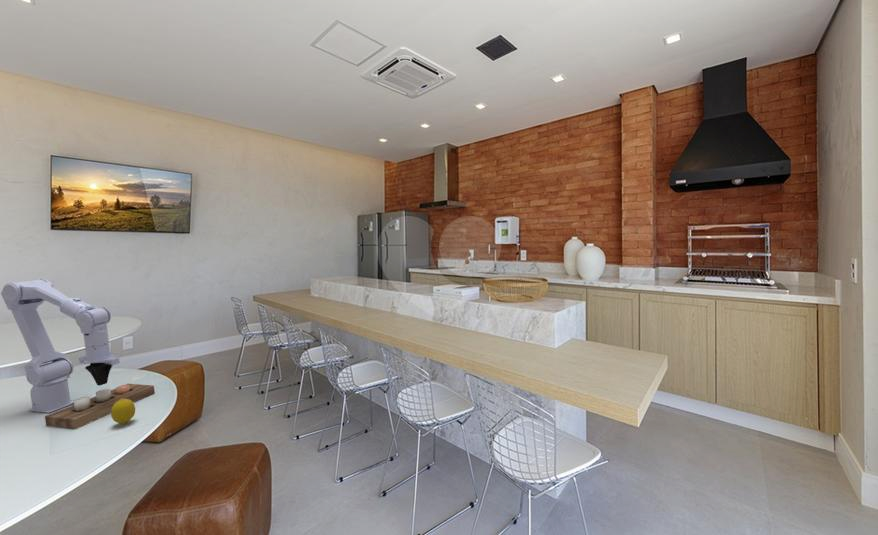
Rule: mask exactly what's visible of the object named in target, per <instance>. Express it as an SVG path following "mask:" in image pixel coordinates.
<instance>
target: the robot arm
mask: <svg viewBox="0 0 878 535" xmlns="http://www.w3.org/2000/svg"><path fill="white" fill-rule="evenodd" d="M0 294H1V297H2V299H3V301H4V303H5V305H6V308H7V309H8V310H10V311H11V314H12V316H13V318H14V320H15V322H16V324H17V327H18V329H19V331H20V333H21V335H22V337H23V339H24V342H25V344H26V346H27V348H28V350H29V353H30V355H31V360H30V361H29V362H28V363H27V364H25V366H24V369H25V374H26V375H25V377H26V381H27V382H28V383H29V384H30V385H32V387H31V389H30V391H29V392H30V400H31V406H32V408H29V409H28V411H29V412H36V413H47V414H51V413H52V412H53V413H54V412H57V411H59V410H62V409H64V408H67V407H69V406H72V405H74V404H73V403H74V400H75V399H71V396H70V395H71V394H70V388H69V380H68V379H69V378H71V377H70V375H71V374H73V372H74V367H75V366H74V363H73V362H72V361H71V360H70V359H69V358H68V356H67V354H66V353H64V352H60V351H55V348H54V346H53V343H52V341H51V339H50V337H49V335H48V332H47V331H46V328H45V326H44V324H43V322H42V319H41V317H40V315H39V312H38V311H37V309H38V307H39V306H40V305H43V303H45V301H46V303H47V302H48V303H49V304H52V305H54V306H57V307H59V311H60V312H61V313H62V314H64V315H66V316H68V317H70V318H71V319H74V320H75V322H76V325H77V326H78V327H79V329H80V332H81V334H83V341H84V349H85V355H83V356H80V357H78V362H79V364H84V365H86V364H88V365H86V366H85V370H87V371H88V373H89V374H90V375H91V377H92V378H93V380H94V381H95V383H96V385H97V386H103V385H105V384H106V385H107V383H108V380H109V375H110V372H111V369H112V367H113V366H115V365H118V364H120V357H117V356H115V355H112V354H111V349H110V341H109V334H108V325H107V324H108V323H109V322H110V321H111V318H112V316H111V313H110V310H108V308H106V307H104V306H99V307H97V306H93V305H92V304H89V303H88V302H85V301H84V300H82V298H81V297H68V296H67V295H65V293H62V292H61V291H60V290H58V289H56V288H55V287H54V284H53V282H51V281H49V280H47V279H46V278H39V279H35V280H27V281H26V280H25V281H17V282H8V283H7V282H6V283H5V284H4V286H3V288H2V290H1V292H0Z"/></svg>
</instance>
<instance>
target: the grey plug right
mask: <svg viewBox="0 0 878 535" xmlns="http://www.w3.org/2000/svg"><path fill="white" fill-rule="evenodd" d="M90 398H91V397H90V396H83V397H79V398H76V399H73V400H74V404H73V405H74V408H75V411H81V410H85V409H88V408H90V407H91V404H90Z"/></svg>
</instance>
